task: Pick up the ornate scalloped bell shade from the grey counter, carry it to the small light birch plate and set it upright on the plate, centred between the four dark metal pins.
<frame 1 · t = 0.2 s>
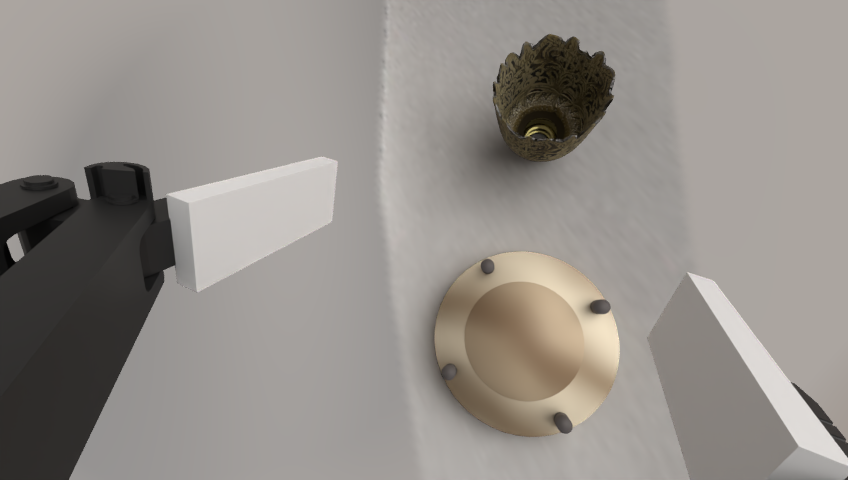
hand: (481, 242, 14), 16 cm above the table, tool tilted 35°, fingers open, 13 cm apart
seat plate: (521, 338, 28), on the table
ornate scalloped bell shade: (537, 143, 31), on the table
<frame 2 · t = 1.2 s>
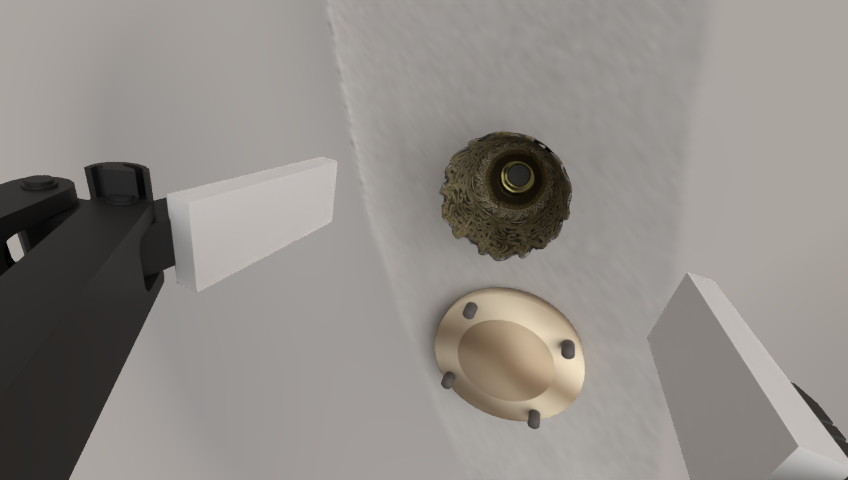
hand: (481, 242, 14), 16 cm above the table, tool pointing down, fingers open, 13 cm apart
seat plate: (506, 351, 33), on the table
ornate scalloped bell shade: (519, 174, 28), on the table
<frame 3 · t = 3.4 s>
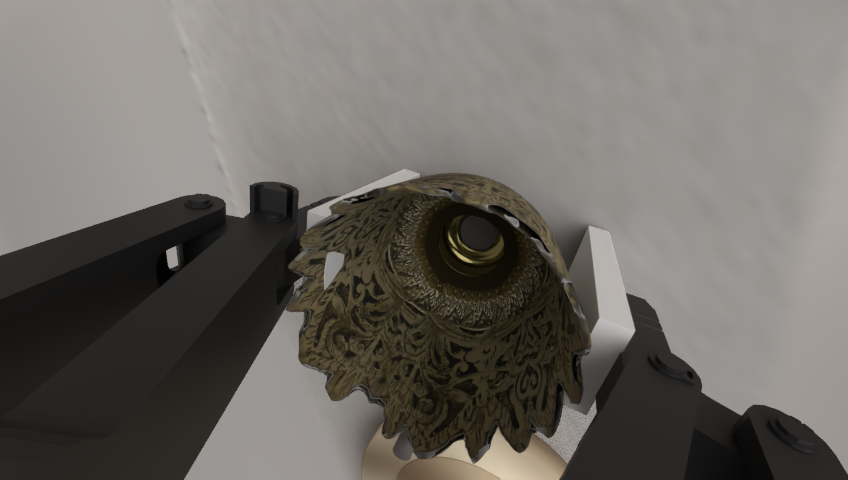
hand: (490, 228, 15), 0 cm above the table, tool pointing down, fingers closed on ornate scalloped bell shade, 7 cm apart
ornate scalloped bell shade: (479, 230, 16), on the table, touching gripper
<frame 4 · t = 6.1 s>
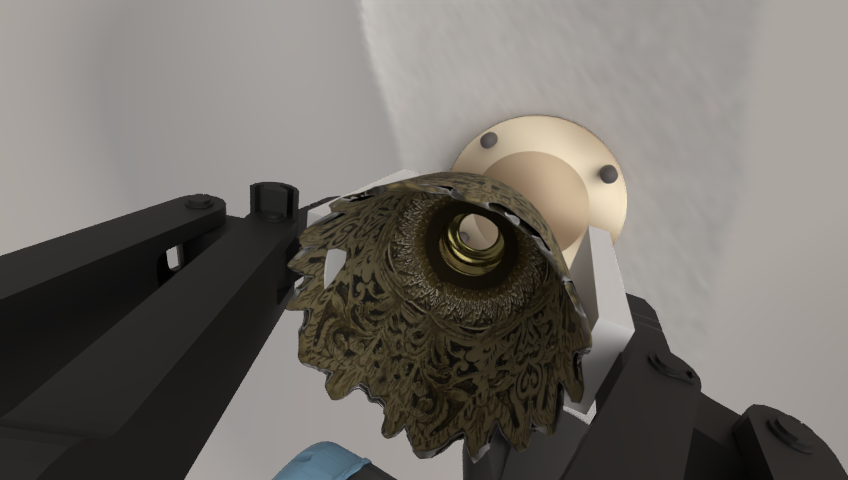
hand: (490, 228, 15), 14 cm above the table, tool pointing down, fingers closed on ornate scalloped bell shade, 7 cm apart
seat plate: (530, 202, 28), on the table
ornate scalloped bell shade: (479, 229, 16), point 14 cm above the table, touching gripper
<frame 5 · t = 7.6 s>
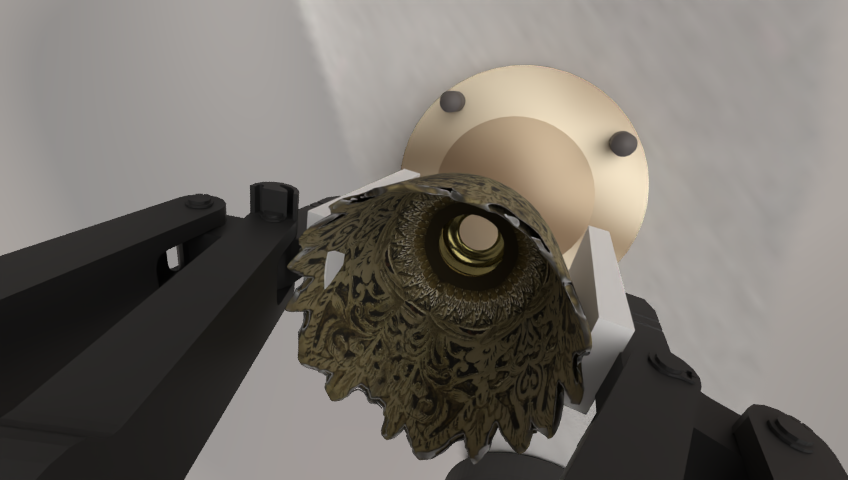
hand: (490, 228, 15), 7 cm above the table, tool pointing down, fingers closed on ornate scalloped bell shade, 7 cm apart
seat plate: (513, 191, 21), on the table
ornate scalloped bell shade: (479, 230, 16), point 6 cm above the table, touching gripper
when the fingers open (3 cm above the table, at t = 8.8 s): ornate scalloped bell shade moves 2 cm, resting on seat plate.
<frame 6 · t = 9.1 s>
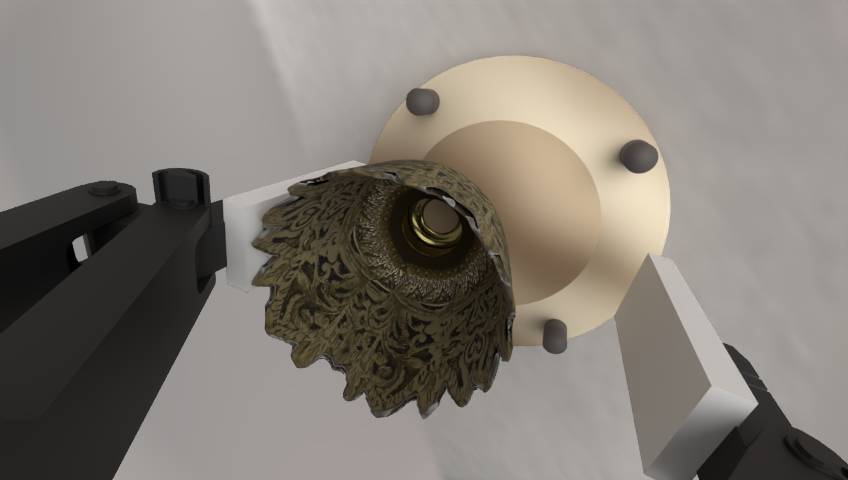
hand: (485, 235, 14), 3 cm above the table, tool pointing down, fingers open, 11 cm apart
seat plate: (501, 211, 17), on the table
ornate scalloped bell shade: (442, 214, 17), point 2 cm above the table, touching gripper, seat plate
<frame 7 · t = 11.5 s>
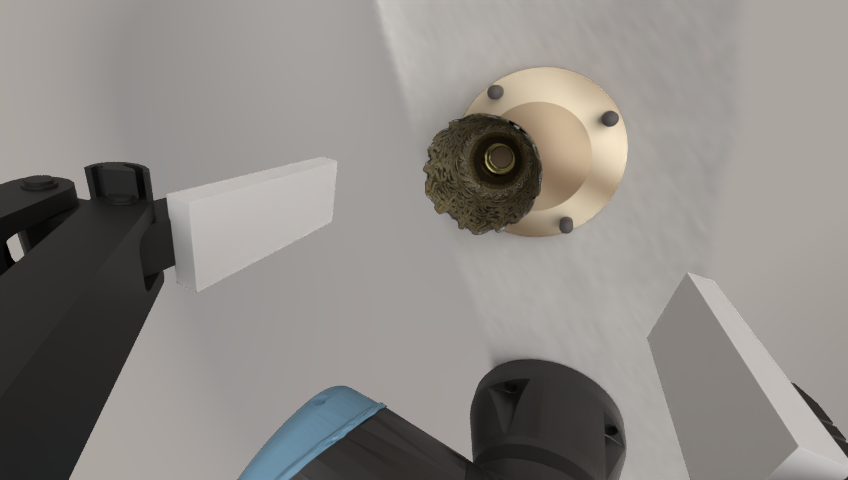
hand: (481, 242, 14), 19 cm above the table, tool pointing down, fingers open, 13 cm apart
seat plate: (534, 156, 30), on the table
ornate scalloped bell shade: (501, 156, 29), point 1 cm above the table, touching seat plate
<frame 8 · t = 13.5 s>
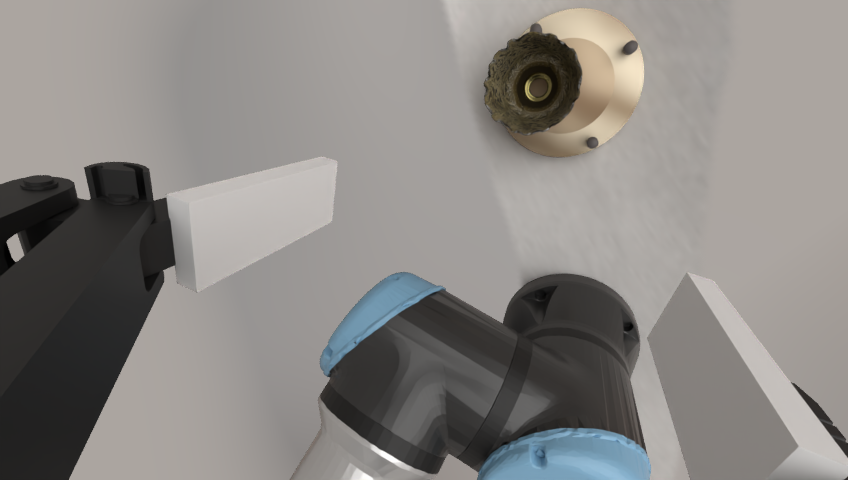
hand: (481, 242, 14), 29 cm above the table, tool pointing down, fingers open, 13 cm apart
seat plate: (565, 88, 36), on the table
ornate scalloped bell shade: (538, 87, 35), point 1 cm above the table, touching seat plate
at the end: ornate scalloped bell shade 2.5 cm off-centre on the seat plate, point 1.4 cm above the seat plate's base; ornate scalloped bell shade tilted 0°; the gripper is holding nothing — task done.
